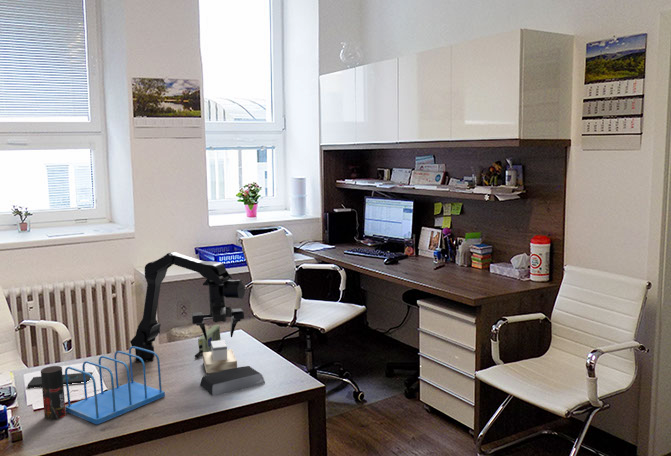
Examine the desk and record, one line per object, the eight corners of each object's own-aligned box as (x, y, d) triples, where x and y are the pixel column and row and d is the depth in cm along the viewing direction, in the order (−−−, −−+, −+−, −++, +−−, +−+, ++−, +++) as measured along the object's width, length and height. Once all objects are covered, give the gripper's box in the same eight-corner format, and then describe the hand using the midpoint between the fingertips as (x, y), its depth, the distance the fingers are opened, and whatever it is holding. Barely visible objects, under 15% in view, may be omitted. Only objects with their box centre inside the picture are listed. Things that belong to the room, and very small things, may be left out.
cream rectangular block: (206, 375, 221) (206, 364, 221) (203, 362, 234) (202, 352, 234) (237, 371, 224) (236, 361, 224) (232, 359, 237) (231, 349, 237)
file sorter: (133, 386, 213) (130, 343, 211) (165, 397, 202) (162, 352, 200) (65, 411, 193) (61, 364, 191) (96, 426, 183) (93, 376, 181)
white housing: (213, 361, 224) (212, 347, 223) (211, 354, 232) (210, 341, 231) (227, 359, 226) (227, 346, 225) (224, 352, 233) (224, 339, 233)
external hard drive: (266, 385, 212) (265, 373, 212) (213, 398, 202) (212, 386, 201) (250, 373, 223) (249, 363, 223) (199, 386, 213) (198, 374, 212)
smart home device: (88, 379, 216) (26, 385, 212) (88, 384, 216) (27, 390, 212) (92, 371, 224) (33, 376, 220) (93, 376, 224) (34, 381, 220)
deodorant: (48, 412, 192) (45, 366, 190) (68, 411, 193) (64, 365, 191) (41, 421, 186) (37, 373, 184) (61, 419, 187) (57, 372, 185)
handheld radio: (221, 339, 263) (200, 359, 238) (214, 339, 264) (192, 359, 239) (220, 324, 262) (199, 342, 238) (213, 324, 263) (191, 343, 238)
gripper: (192, 304, 215) (194, 348, 217) (245, 299, 221) (247, 342, 223) (190, 297, 226) (192, 338, 228) (241, 293, 231) (242, 333, 233)
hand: (218, 338), depth 228 cm, fingers open, 9 cm apart
